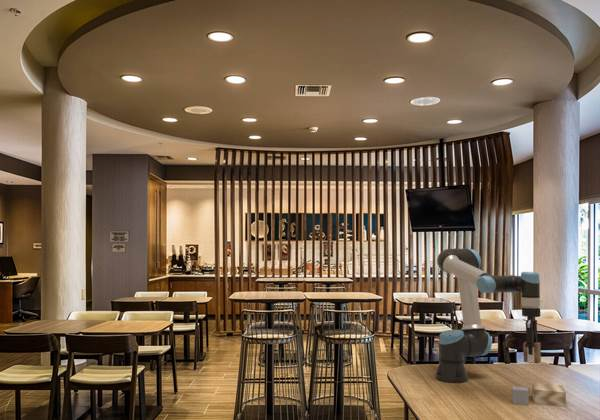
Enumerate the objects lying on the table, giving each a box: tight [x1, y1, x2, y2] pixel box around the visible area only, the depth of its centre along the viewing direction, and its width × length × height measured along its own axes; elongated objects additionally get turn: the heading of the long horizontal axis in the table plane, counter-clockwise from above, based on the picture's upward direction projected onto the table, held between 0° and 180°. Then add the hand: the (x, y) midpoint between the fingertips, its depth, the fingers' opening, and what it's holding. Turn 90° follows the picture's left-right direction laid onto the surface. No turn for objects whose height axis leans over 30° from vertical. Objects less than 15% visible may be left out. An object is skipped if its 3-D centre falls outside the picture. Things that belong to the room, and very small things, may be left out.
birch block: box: [531, 382, 567, 408], centre depth 243 cm, size 12×12×6 cm
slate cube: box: [511, 385, 530, 406], centre depth 240 cm, size 6×6×6 cm
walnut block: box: [522, 341, 542, 364], centre depth 248 cm, size 6×6×8 cm
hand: (532, 360), depth 247 cm, fingers closed on walnut block, 6 cm apart
